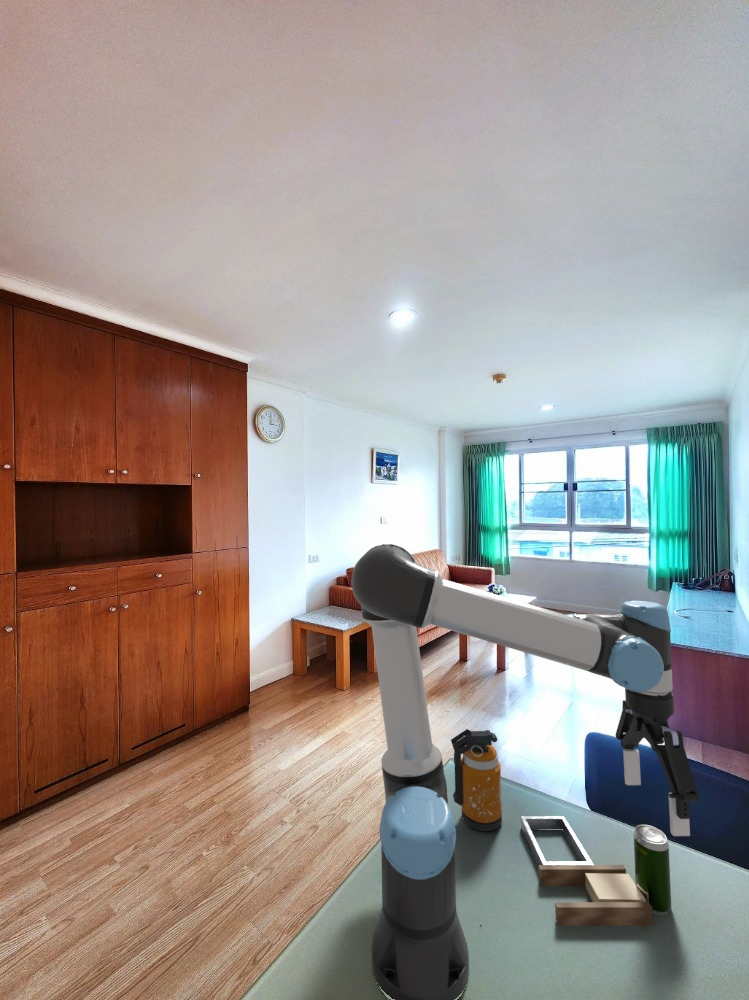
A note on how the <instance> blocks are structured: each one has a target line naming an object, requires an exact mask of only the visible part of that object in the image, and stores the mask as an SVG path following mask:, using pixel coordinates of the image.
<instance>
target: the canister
mask: <svg viewBox="0 0 749 1000" xmlns="http://www.w3.org/2000/svg"><path fill="white" fill-rule="evenodd" d="M450 742H451V744H452V748H453V750H454V751H453V764H454V792H453V793H452V797H453V801H454V803H456V804H458V805H459V806H461V818H462V819H463V821H464V822H465V824H467V825H468V826H469V827H471V828H473V829H476V830H479V831H493V830H496V829H498V828H499V827H500V826H501V825H502V822H503V814H502V813H503V809H502V808H503V807H502V805H503V804H502V775H501V769H502V768H501V763H500V761H499V753H498V751H497V750H496V748H495V747H494V746H493V745H492V743H496V742H498V737H497V736H496V733H494V732H491V730H489V729H486V730H470V729H468V728H466V729H465V730H463V731H462V732H460V733H458V734H457V735H455V736H454V737H453V738H451V739H450Z"/></svg>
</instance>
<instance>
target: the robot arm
mask: <svg viewBox="0 0 749 1000" xmlns="http://www.w3.org/2000/svg"><path fill="white" fill-rule="evenodd" d="M354 565H355V566H354V568H353V569H352V574H351V580H350V583H351V590H352V594H353V595H354V597H355V599H356V601H357V603H358V604H359V605H360V608H361V614H362V620H363V621H364V622H365V623H367V624H368V625H369V626H370V627H371V631H372V638H373V639H372V640H373V647H374V653H375V661H376V669H377V676H378V677H377V678H378V686H379V693H380V700H381V708H382V715H383V717H382V718H383V725H384V731H385V739H386V747H387V749H386V751H385V752H383V755H382V756H381V770H382V778H383V787H384V796H385V804H384V805H383V808H382V811H381V816H380V823H379V839H380V843H381V846H380V847H381V849H380V850H381V852H380V853H381V854H380V855H381V856H380V857H381V905H382V906H381V909H380V912H379V917H378V919H377V923H376V926H375V929H374V933H373V936H372V941H371V942H372V943H371V966H372V967H371V969H372V968H373V969H372V974H373V973H374V974H373V977H374V976H375V978H374V980H375V979H376V980H375V983H376V982H377V983H378V985H379V986H380V987H381V989H382V990H383V991H384V992H385V993H386V994H387V995H389V996H390V997H391V998H392V999H395V1000H454V999H456V998H457V997H458V996H459V995H460V994H461V993H462V991H463V990H464V988H465V986H466V984H467V985H468V983H467V982H469V977H470V959H469V957H470V956H469V948H468V947H469V946H468V944H467V943H468V942H467V939H466V937H465V933H464V930H463V927H462V924H461V922H460V918H459V915H458V913H457V904H456V903H457V892H456V891H457V890H456V889H457V887H456V886H457V885H456V850H455V848H456V840H457V833H456V831H457V830H456V824H455V820H454V815H453V813H452V810H451V808H450V805H449V799H448V784H447V778H446V774H445V771H444V770H445V769H444V764H443V757H442V752H441V750H440V749H439V748H438V747H437V746H436V745H435V744H433V741H432V733H431V725H430V721H429V720H430V719H429V711H428V710H429V709H428V704H427V696H426V688H425V681H424V674H423V667H422V660H421V653H420V652H421V651H420V645H419V638H418V629H417V628H419V629H424V628H426V627H428V626H430V625H431V626H434V627H439V628H441V629H445V630H448V631H452V632H455V633H459V634H462V635H466V636H469V637H472V638H474V639H479V640H482V641H485V642H488V643H492V644H496V645H499V646H501V647H505V648H508V649H512V650H516V651H519V652H522V653H526V654H529V655H533V656H535V657H539V658H542V659H545V660H549V661H553V662H556V663H559V664H563V665H566V666H569V667H573V668H576V669H578V670H583V671H585V672H589V673H591V674H594V675H598V676H602V677H605V678H607V679H610V680H612V681H613V682H614V683H616V684H617V685H618V686H620V687H622V688H624V693H625V694H624V695H625V700H622V711H621V714H620V717H619V721H618V724H617V725H618V726H617V728H616V730H615V738H616V740H617V741H620V745H621V748H623V749H622V751H623V774H624V784H625V785H626V786H642V782H641V781H642V780H641V761H640V758H641V757H640V751H639V749H638V748H640V746H639V744H640V743H641V741H642V740H643V739H645V740H646V741H647V743H649V746H650V749H651V750H652V751H653V752H654V753H656V756H657V759H658V761H659V763H660V766H661V768H662V771H663V773H664V777H665V778H666V781H667V784H668V786H669V788H670V791H671V792H668V794H667V795H668V809H669V810H668V811H669V830H670V834H671V835H672V836H673V837H690V836H691V829H690V826H691V825H690V817H691V813H690V812H691V811H690V802H699V801H700V799H701V798H700V794H699V791H698V788H697V784H696V782H695V781H696V780H695V778H694V776H693V772H692V768H691V766H690V762H689V760H688V756H687V753H686V750H685V746H684V738H683V737H684V736H683V733H682V732H681V731H680V730H672V729H670V724H669V722H668V720H669V719H670V717H672V716H673V715H674V714H675V701H674V699H675V698H674V693H673V692H672V691H673V688H674V687H673V686H674V685H673V670H672V669H673V668H672V644H671V642H672V640H671V632H672V629H671V623H670V616H669V611H668V609H667V608H666V606H665V605H663V604H661V603H658V602H653V601H645V600H630V601H624V602H622V604H621V605H620V611H619V612H618V613H617V612H616V613H577V612H574V613H570V614H569V613H568V614H563V613H560V612H557V611H554V610H549V609H546V608H543V607H540V606H536V605H533V604H529V603H526V602H522V601H520V600H515V599H513V598H509V597H506V596H502V595H499V594H495V593H492V592H488V591H486V590H481V589H477V588H476V587H475V588H474V587H471V586H468V585H464V584H461V583H458V582H455V581H451V580H447V579H444V578H442V576H441V575H440V572H439V571H438V570H435V569H432V568H429V567H426V566H423V565H421V564H418V563H417V562H416V561H415V558H414V557H413V555H412V554H411V553H410V552H409V551H408V550H406V548H404V547H402V546H400V545H396V544H393V543H389V544H386V543H382V544H380V545H375V546H373V547H372V548H370V549H369V550H368V551H366V552H365V553H364V554H363V555H362V556H361V557H360V558H359V560H358V561H357V562H356V563H355V564H354ZM468 976H469V977H468ZM377 983H376V984H377ZM378 985H377V986H378ZM466 987H467V986H466ZM465 989H466V988H465Z"/></svg>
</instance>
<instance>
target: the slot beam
mask: <svg viewBox="0 0 749 1000" xmlns="http://www.w3.org/2000/svg"><path fill="white" fill-rule="evenodd" d="M537 866H538V883H539V885H540V886H541V887H542V886H543V887H567V886H568V887H570V886H571V887H585V873H605V874H627V869H626V866H625V865H624V864H593V865H538V864H537ZM554 909H555V910H554V912H555V922H556V924H557V927H561V926H562V927H565V926H567V927H572V926H573V927H574V926H575V927H576V926H578V927H579V926H580V927H581V926H583V927H586V926H587V927H589V926H590V927H596V926H597V927H598V926H600V927H601V926H603V927H609V926H610V927H611V926H615V927H616V926H617V927H618V926H619V927H620V926H622V927H624V926H625V927H628V926H629V927H636V926H637V927H640V926H641V927H643V926H644V927H645V926H647V927H649V926H650V927H651V926H654V920H653V919H654V917H653V914H654V913H652V906H651V905H650V903H649V902H593V901H591V902H589V901H587V902H586V901H582V902H581V901H575V902H574V901H571V902H570V901H568V902H567V901H566V902H565V901H564V902H563V901H562V902H561V901H560V902H559V901H556V902H554Z"/></svg>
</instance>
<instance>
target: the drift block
mask: <svg viewBox="0 0 749 1000" xmlns="http://www.w3.org/2000/svg"><path fill="white" fill-rule="evenodd" d="M584 887H585V891H587V893H588V896H589V897H590V899H591V902H646V899H645V898H644V896H643V895H642V893H641V892H640V890H639V889H638V887H637V886H636V882H635V881H634V880H633V878H632V877H631V876H630V874H629V873H626V874H605V873H585V886H584Z"/></svg>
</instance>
